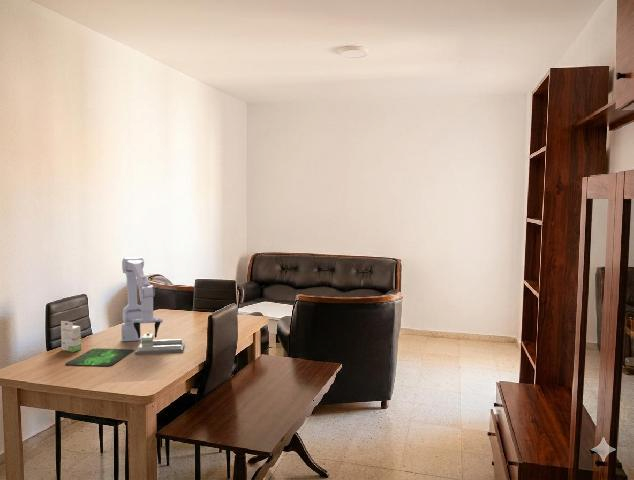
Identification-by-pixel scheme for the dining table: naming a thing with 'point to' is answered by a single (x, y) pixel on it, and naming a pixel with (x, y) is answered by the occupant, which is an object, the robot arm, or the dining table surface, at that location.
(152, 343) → the module
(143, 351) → the mounting board
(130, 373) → the dining table surface
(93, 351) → the mouse mat
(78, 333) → the ink box
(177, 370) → the dining table surface
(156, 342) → the rail
